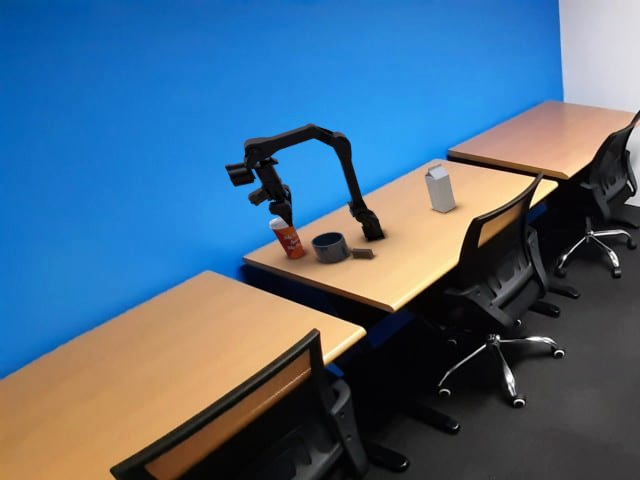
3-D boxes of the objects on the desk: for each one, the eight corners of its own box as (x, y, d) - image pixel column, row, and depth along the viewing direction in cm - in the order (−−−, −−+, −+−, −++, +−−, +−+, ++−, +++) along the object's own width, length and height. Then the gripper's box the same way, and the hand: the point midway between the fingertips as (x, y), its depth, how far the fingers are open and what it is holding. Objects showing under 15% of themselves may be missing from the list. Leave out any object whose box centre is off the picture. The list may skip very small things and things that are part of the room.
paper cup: (298, 260, 173) (281, 226, 164) (280, 258, 174) (262, 224, 165) (312, 250, 179) (296, 216, 169) (295, 248, 180) (278, 214, 170)
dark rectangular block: (374, 255, 175) (371, 248, 173) (371, 259, 174) (368, 252, 172) (356, 255, 176) (353, 248, 174) (353, 258, 174) (350, 251, 172)
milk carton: (456, 207, 206) (446, 164, 193) (444, 213, 201) (433, 170, 189) (444, 203, 209) (434, 161, 196) (432, 209, 204) (421, 166, 192)
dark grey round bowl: (348, 245, 181) (341, 229, 177) (352, 258, 174) (345, 242, 169) (317, 252, 177) (309, 236, 173) (320, 266, 170) (312, 249, 165)
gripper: (244, 174, 160) (266, 215, 171) (241, 194, 148) (265, 238, 158) (280, 167, 164) (299, 208, 174) (279, 187, 151) (301, 230, 162)
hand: (291, 221), depth 167 cm, fingers open, 9 cm apart
